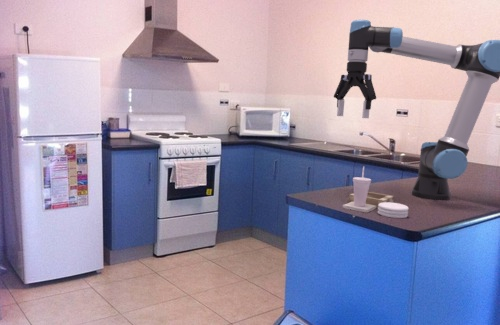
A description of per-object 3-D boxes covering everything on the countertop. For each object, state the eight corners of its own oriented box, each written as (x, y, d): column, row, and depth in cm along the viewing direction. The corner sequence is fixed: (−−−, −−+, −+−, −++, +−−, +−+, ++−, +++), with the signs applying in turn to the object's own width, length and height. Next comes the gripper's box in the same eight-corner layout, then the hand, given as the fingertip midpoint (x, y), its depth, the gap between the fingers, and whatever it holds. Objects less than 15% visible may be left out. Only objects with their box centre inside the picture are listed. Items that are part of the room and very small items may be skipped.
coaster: (395, 220, 150) (396, 209, 150) (371, 213, 158) (372, 203, 158) (413, 217, 156) (415, 207, 156) (389, 210, 164) (390, 201, 164)
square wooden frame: (360, 197, 183) (361, 190, 182) (393, 203, 176) (394, 195, 175) (348, 202, 172) (349, 194, 172) (382, 208, 165) (383, 200, 165)
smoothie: (371, 205, 164) (375, 167, 162) (364, 208, 159) (368, 168, 157) (354, 202, 168) (357, 164, 166) (347, 205, 163) (351, 166, 161)
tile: (351, 204, 170) (352, 201, 170) (375, 208, 165) (376, 205, 165) (342, 208, 162) (342, 205, 162) (367, 212, 157) (367, 209, 157)
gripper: (327, 62, 185) (323, 115, 188) (375, 59, 164) (369, 118, 167) (341, 63, 189) (337, 115, 192) (389, 61, 169) (383, 119, 171)
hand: (352, 117), depth 180 cm, fingers open, 13 cm apart
